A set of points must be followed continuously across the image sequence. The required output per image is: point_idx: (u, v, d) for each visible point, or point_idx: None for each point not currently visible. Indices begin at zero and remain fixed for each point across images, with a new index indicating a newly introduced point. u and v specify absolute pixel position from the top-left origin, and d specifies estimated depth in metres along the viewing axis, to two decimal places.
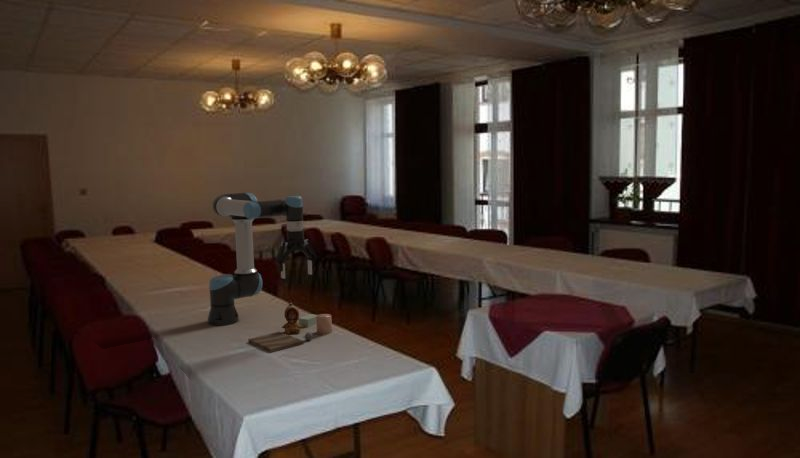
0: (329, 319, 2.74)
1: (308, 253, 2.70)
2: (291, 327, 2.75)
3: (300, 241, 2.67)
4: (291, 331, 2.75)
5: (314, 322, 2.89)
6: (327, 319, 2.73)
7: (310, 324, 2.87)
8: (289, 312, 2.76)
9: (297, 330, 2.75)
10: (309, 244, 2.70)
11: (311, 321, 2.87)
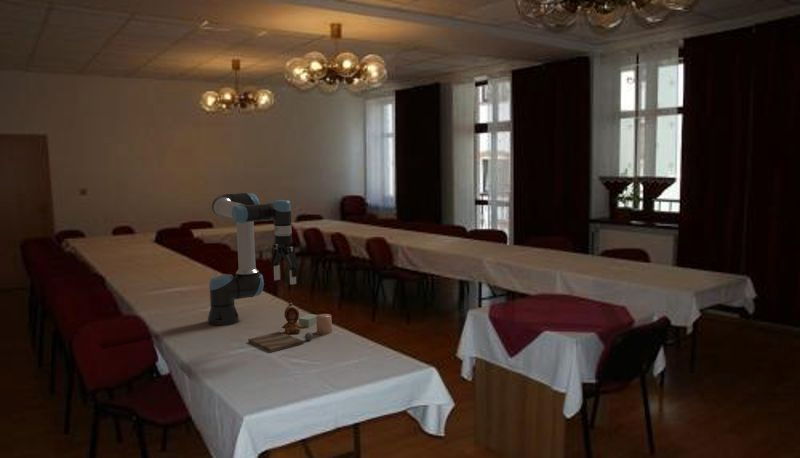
0: (329, 319, 2.74)
1: (288, 261, 2.57)
2: (291, 327, 2.75)
3: (283, 247, 2.59)
4: (291, 331, 2.75)
5: (314, 322, 2.90)
6: (327, 319, 2.73)
7: (311, 324, 2.87)
8: (289, 312, 2.76)
9: (297, 330, 2.75)
10: (289, 252, 2.56)
11: (311, 321, 2.87)
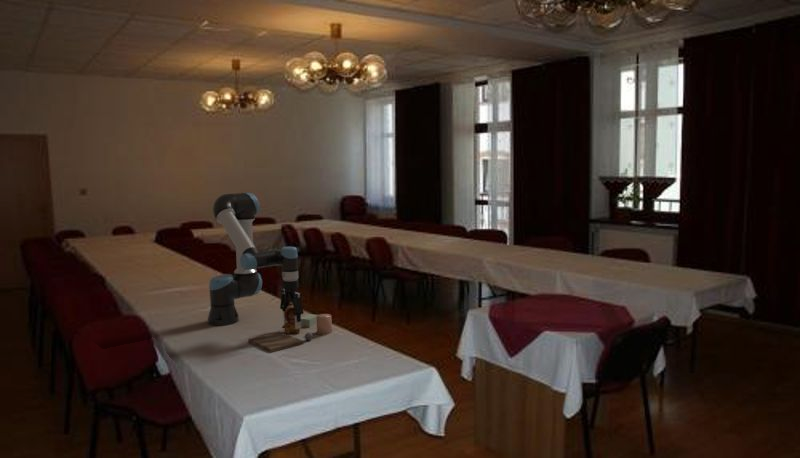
0: (329, 319, 2.74)
1: (294, 306, 2.73)
2: (291, 327, 2.75)
3: (291, 291, 2.74)
4: (291, 331, 2.75)
5: (314, 322, 2.90)
6: (327, 319, 2.73)
7: (311, 324, 2.87)
8: (289, 312, 2.76)
9: (297, 330, 2.75)
10: (295, 298, 2.71)
11: (312, 321, 2.88)
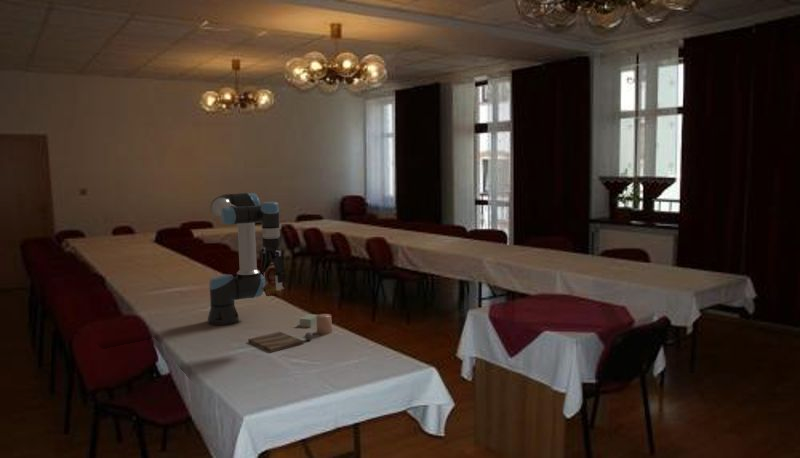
0: (329, 319, 2.74)
1: (275, 266, 2.53)
2: (272, 288, 2.55)
3: (271, 249, 2.54)
4: (272, 293, 2.55)
5: (315, 322, 2.90)
6: (327, 319, 2.73)
7: (312, 324, 2.87)
8: (270, 272, 2.56)
9: (278, 292, 2.55)
10: (276, 256, 2.51)
11: (313, 321, 2.88)
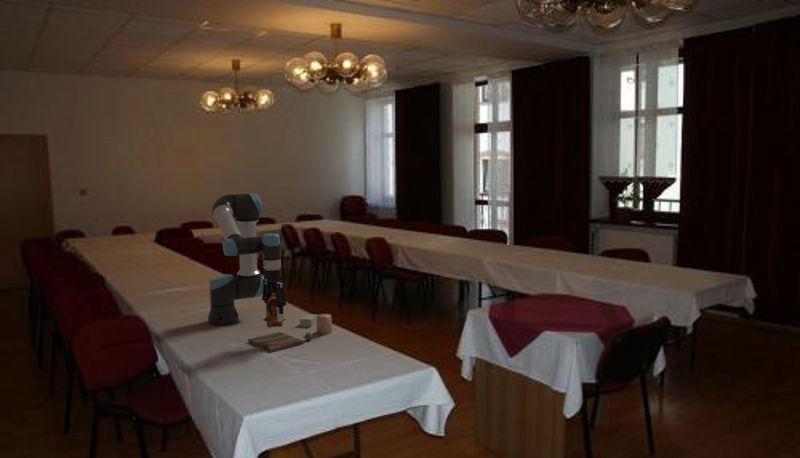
0: (329, 319, 2.74)
1: (276, 297, 2.54)
2: (273, 320, 2.56)
3: (273, 281, 2.55)
4: (273, 324, 2.56)
5: (315, 322, 2.90)
6: (327, 319, 2.73)
7: (312, 324, 2.87)
8: (271, 303, 2.58)
9: (280, 323, 2.56)
10: (278, 288, 2.53)
11: (313, 321, 2.88)
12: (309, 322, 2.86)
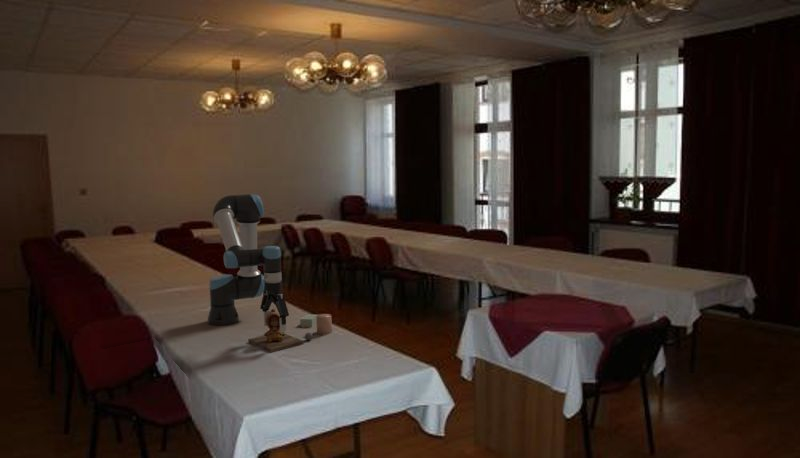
0: (329, 319, 2.74)
1: (278, 308, 2.54)
2: (273, 335, 2.58)
3: (273, 294, 2.56)
4: (273, 339, 2.57)
5: (315, 321, 2.90)
6: (327, 319, 2.73)
7: (313, 324, 2.88)
8: (271, 319, 2.59)
9: (280, 338, 2.58)
10: (279, 299, 2.53)
11: (313, 321, 2.88)
12: (310, 322, 2.86)
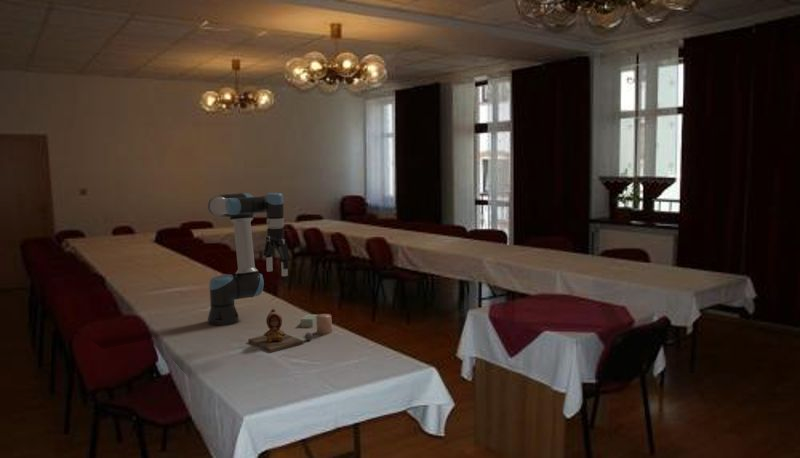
0: (329, 319, 2.74)
1: (280, 253, 2.61)
2: (273, 335, 2.58)
3: (275, 239, 2.63)
4: (273, 339, 2.57)
5: (315, 321, 2.91)
6: (327, 319, 2.73)
7: (313, 324, 2.88)
8: (271, 319, 2.59)
9: (280, 338, 2.58)
10: (281, 244, 2.60)
11: (314, 321, 2.88)
12: (310, 322, 2.86)
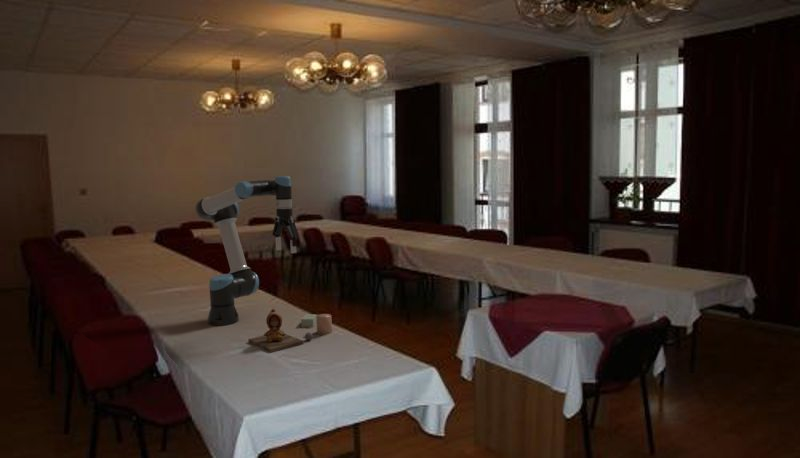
0: (329, 319, 2.74)
1: (289, 232, 2.79)
2: (273, 335, 2.58)
3: (284, 219, 2.82)
4: (273, 339, 2.57)
5: (315, 321, 2.91)
6: (327, 319, 2.73)
7: (314, 323, 2.88)
8: (271, 319, 2.59)
9: (280, 338, 2.58)
10: (289, 223, 2.78)
11: (314, 321, 2.88)
12: (311, 322, 2.86)
